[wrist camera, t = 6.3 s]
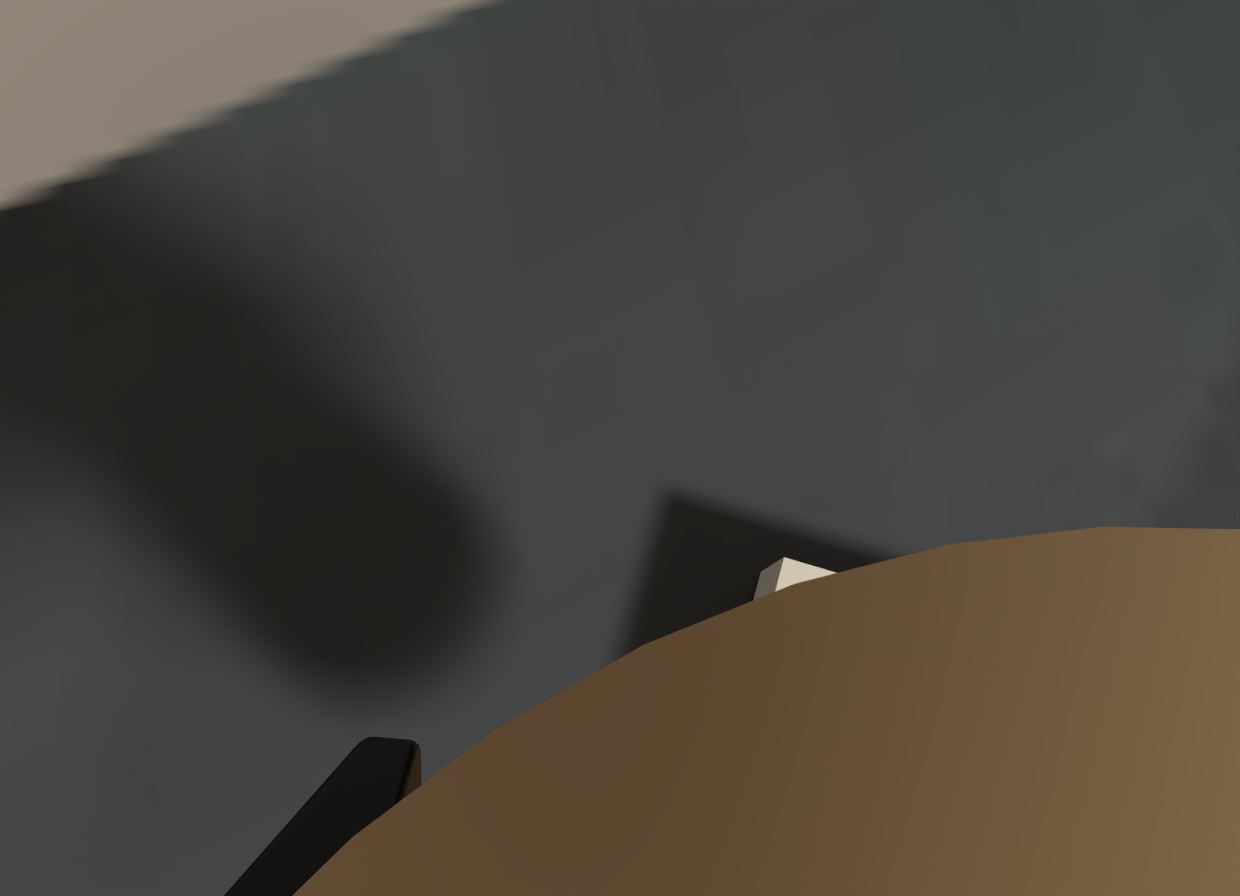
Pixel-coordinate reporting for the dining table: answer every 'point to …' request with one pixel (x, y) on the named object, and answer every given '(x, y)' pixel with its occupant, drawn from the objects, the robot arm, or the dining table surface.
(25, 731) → the dining table surface
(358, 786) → the robot arm
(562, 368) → the dining table surface
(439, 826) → the wooden tool handle
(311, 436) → the dining table surface
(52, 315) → the dining table surface
